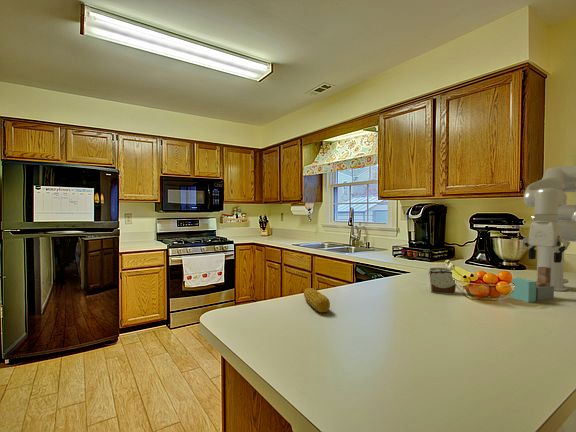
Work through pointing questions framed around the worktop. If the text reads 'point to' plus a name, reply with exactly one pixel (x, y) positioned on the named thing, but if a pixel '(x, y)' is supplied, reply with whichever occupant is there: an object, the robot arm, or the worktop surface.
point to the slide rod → (543, 276)
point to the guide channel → (544, 293)
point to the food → (317, 300)
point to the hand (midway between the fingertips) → (544, 260)
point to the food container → (442, 281)
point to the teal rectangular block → (524, 290)
